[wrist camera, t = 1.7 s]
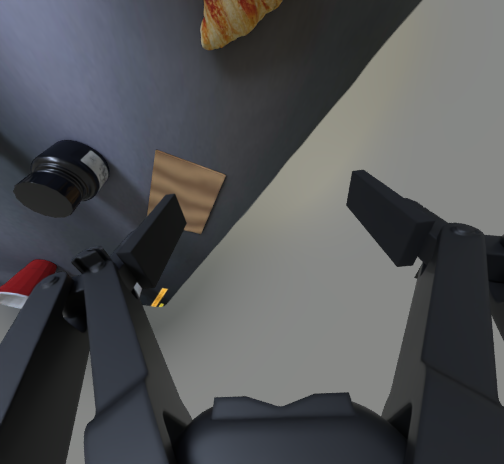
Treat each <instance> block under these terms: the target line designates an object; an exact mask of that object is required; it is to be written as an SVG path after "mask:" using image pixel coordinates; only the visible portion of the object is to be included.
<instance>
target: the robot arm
mask: <svg viewBox="0 0 504 464" xmlns="http://www.w3.org/2000/svg"><path fill="white" fill-rule="evenodd" d="M346 205H347V207H348V208H349V209H350V210H351V212H352V213H353V214H354V215H355V216H356V218H357V219H358V220H359V221H360V222H361V224H362V225H363V226H364V227H365V229H366V230H367V231H368V232H369V233H370V234H371V236H372V237H373V238H374V239H375V241H376V242H377V243H378V244H379V246H380V247H381V248H382V249H383V250H384V252H385V253H386V254H387V255H388V256H389V258H390V259H391V260H392V261H393V262H394V264H395V265H396V266H397V267H401V266H412V265H413V264H414V262H415V260H416V258H417V256H418V257H419V258H420V259H421V260H422V261H423V263H422V265H421V267H420V268H419V270H418V272H417V274H416V276H415V278H417V282H416V287H415V291H414V296H413V299H412V304H411V308H410V312H409V317H408V320H407V325H406V329H405V333H404V337H403V342H402V346H401V351H400V354H399V359H398V363H397V367H396V371H395V375H394V380H393V384H392V388H391V392H390V394H389V397H388V399H387V401H386V404H385V406H384V409H383V412H382V416H379V415H378V414H376V413H375V412H373V411H372V410H370V409H368V408H366V407H364V406H362V405H360V404H357V403H354V402H352V401H351V398H350V395H349V393H348V392H347V393H324V394H323V393H321V394H313V395H310V396H308V397H305V398H303V399H300V400H298V401H295V402H293V403H291V404H288V405H285V406H281V407H280V406H275V405H272V404H269V403H266V402H262V401H259V400H256V399H252V398H250V397H246V396H243V397H216V398H214V405H213V407H211V408H209V409H207V410H206V411H204V412H202V413H201V414H200V415H198V416H197V417H196V418H194V419H193V420H192V418H191V416H190V415H189V412H188V411H187V409H186V408H185V406H184V404H183V403H182V401H181V399H180V397H179V394H178V392H177V389H176V387H175V385H174V382H173V380H172V377H171V375H170V372H169V370H168V367H167V365H166V362H165V360H164V358H163V355H162V353H161V350H160V348H159V345H158V343H157V340H156V338H155V335H154V333H153V330H152V328H151V325H150V323H149V321H148V318H147V316H146V313H145V311H144V308H143V306H142V303H141V301H140V298H139V296H138V293H137V291H136V290H135V289H134V286H135V285H136V283H138V284H139V285H140V287H141V288H142V289H146V288H155V287H156V285H157V283H158V281H159V279H160V277H161V274H162V272H163V270H164V268H165V266H166V264H167V262H168V260H169V258H170V256H171V254H172V252H173V250H174V248H175V246H176V244H177V242H178V240H179V238H180V236H181V234H182V232H183V230H184V228H185V226H186V224H187V222H186V220H185V217H184V215H183V212H182V210H181V207H180V205H179V202H178V199H177V197H176V194H167V195H165V196H164V197H163V198H162V199H161V201H160V202H159V203H158V204H157V205H156V207H155V208H154V209H153V210H152V211H151V212H150V214H149V215H148V216H147V217H146V218H145V220H144V221H143V222H142V223H141V224H140V225H139V227H138V228H137V229H135V230H134V231H133V232H131V233H130V234H129V235H128V236H127V237H126V238H125V239H124V241H122V243H121V244H120V245H119V246H118V247H117V248H116V250H115V251H114V252H113V253H112V254H111V255H110V256H109V255H108V254H107V253H106V251H105V250H104V249H103V248H102V247H101V246H95V247H91V248H88V249H86V250H84V251H82V252H80V253H79V254H77V255H76V256H75V257H74V258H73V259H72V261H71V263H72V264H73V265H74V266H75V267H76V268H77V269H78V270H79V271H80V272H81V273H82V274H81V275H78V276H75V277H72V278H71V277H70V276H69V275H68V274H67V273H66V272H58V273H54V274H52V275H49V276H47V277H46V278H44V279H42V280H41V281H40V282H39V283H38V284H37V285H36V286H35V287H34V289H33V290H32V292H31V294H30V295H29V297H28V299H27V300H26V302H25V304H24V305H23V307H22V309H21V310H20V312H19V314H18V316H17V317H16V319H15V320H14V322H13V324H12V326H11V327H10V329H9V330H8V332H7V334H6V336H5V337H4V339H3V341H2V342H1V344H0V464H66V459H67V455H68V450H69V445H70V440H71V436H72V430H73V426H74V421H75V416H76V412H77V407H78V402H79V398H80V393H81V388H82V383H83V379H84V374H85V369H86V365H87V360H88V355H89V350H90V355H91V366H92V376H93V386H94V397H95V406H96V415H95V417H94V419H93V420H92V421H90V422H89V423H88V424H87V426H86V429H85V432H84V455H85V464H504V406H502V405H501V403H500V402H499V398H498V391H497V379H496V368H495V355H494V342H493V330H492V318H491V315H492V317H493V319H494V321H495V323H496V326H497V328H498V330H499V332H500V334H501V336H502V338H503V340H504V235H503V236H491V235H484V234H483V232H481V231H480V230H479V229H476V228H474V227H472V226H469V225H466V224H461V223H447V222H446V221H444V220H443V219H441V218H440V217H438V216H437V215H435V214H434V213H432V212H430V211H429V210H428V209H426V208H423V206H422V205H420V204H419V203H417V202H416V201H413V200H410V199H408V198H403V197H401V196H400V195H399V194H397V193H396V192H395V191H393V190H392V189H390V188H389V187H387V186H386V185H384V184H383V183H382V182H380V181H379V180H377V179H376V178H375V177H373V176H372V175H370V174H369V173H367V172H366V171H365V170H357V171H352V176H351V182H350V187H349V193H348V198H347V204H346ZM63 316H64V317H63Z"/></svg>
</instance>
